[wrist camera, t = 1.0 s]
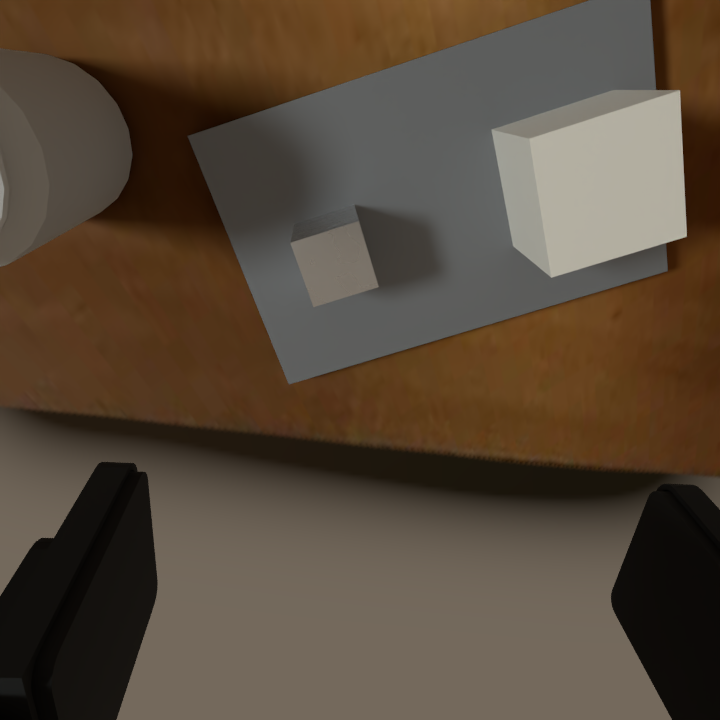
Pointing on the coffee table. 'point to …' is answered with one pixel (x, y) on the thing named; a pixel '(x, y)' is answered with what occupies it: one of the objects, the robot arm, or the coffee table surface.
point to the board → (418, 186)
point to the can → (55, 150)
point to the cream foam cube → (594, 178)
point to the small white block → (333, 256)
